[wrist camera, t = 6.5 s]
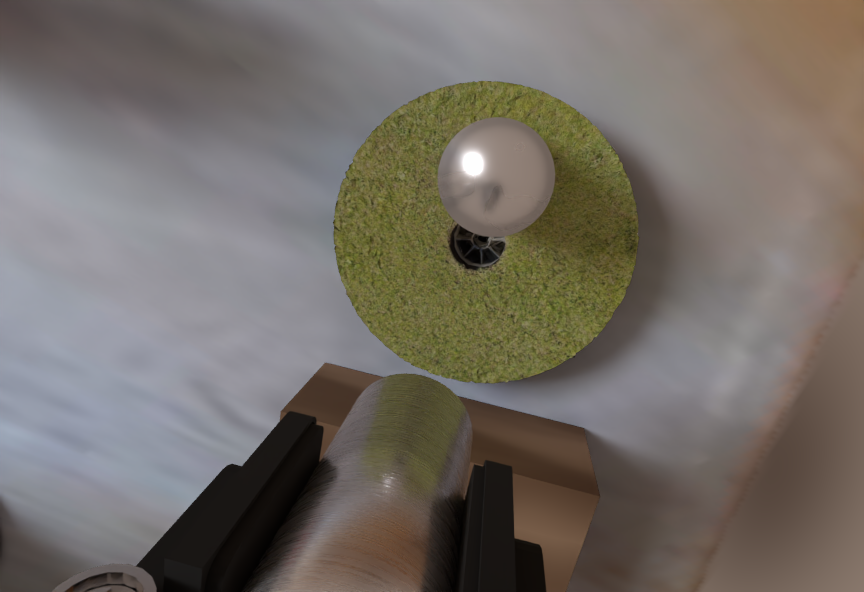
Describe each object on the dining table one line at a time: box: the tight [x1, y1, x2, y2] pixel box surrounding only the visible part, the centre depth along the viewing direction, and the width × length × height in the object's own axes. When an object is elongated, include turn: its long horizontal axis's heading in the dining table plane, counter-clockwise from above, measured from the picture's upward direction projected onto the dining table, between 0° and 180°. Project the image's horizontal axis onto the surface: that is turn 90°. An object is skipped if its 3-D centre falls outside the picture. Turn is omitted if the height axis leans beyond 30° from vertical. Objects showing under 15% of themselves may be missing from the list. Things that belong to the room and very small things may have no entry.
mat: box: [333, 81, 639, 384], centre depth 19 cm, size 11×11×2 cm
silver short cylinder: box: [438, 117, 555, 237], centre depth 15 cm, size 3×3×4 cm
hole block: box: [280, 363, 600, 592], centre depth 21 cm, size 9×12×4 cm
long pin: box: [241, 374, 473, 592], centre depth 8 cm, size 3×3×9 cm
